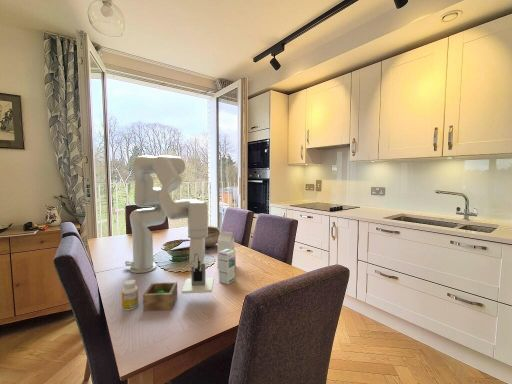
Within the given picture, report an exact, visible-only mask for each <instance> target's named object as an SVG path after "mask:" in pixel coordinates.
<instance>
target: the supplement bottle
mask: <svg viewBox="0 0 512 384" xmlns="http://www.w3.org/2000/svg"><path fill="white" fill-rule="evenodd" d="M121 305H122V307H121V308H122V311H132V310H134V309H135V310H136V308H138V307H139V288H138V285H137V282H136V280H135V279H130V280H129V279H128V280H125V281H124V282H123V288H122V289H121Z"/></svg>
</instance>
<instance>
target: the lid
mask: <svg viewBox="0 0 512 384" xmlns="http://www.w3.org/2000/svg"><path fill="white" fill-rule="evenodd" d="M198 266H199V267H200V265H198ZM190 270H191V271H190V272H191V274H190V275H191V276H190V277H191V278H190V277H189V278H186V280H185V283H184V284H183V287H182V290H181V295H182V294H183V295H185V294H208V293H210V294H211V293H212V292H213V286H214V280H215V278H214V277H206V263H203V264H201V271H202V281H194V275H193V271H194V263H193V264H191V268H190Z"/></svg>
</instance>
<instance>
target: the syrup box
mask: <svg viewBox="0 0 512 384" xmlns="http://www.w3.org/2000/svg"><path fill="white" fill-rule="evenodd" d="M236 265H237V263H236V250H235V249H234V250H231V249H225V250H223V251H220V252H219V268H218V282H220V283H222V284H225V285H230V284H231V283H233V282H235V281H236V280H237V279H236V278H237V276H236V275H237V274H236V273H237V272H236Z"/></svg>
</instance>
